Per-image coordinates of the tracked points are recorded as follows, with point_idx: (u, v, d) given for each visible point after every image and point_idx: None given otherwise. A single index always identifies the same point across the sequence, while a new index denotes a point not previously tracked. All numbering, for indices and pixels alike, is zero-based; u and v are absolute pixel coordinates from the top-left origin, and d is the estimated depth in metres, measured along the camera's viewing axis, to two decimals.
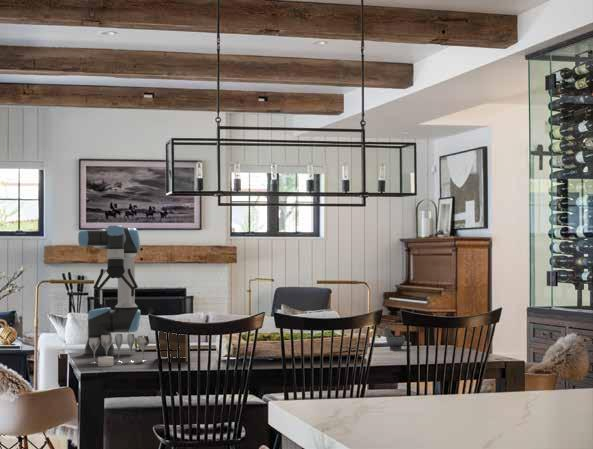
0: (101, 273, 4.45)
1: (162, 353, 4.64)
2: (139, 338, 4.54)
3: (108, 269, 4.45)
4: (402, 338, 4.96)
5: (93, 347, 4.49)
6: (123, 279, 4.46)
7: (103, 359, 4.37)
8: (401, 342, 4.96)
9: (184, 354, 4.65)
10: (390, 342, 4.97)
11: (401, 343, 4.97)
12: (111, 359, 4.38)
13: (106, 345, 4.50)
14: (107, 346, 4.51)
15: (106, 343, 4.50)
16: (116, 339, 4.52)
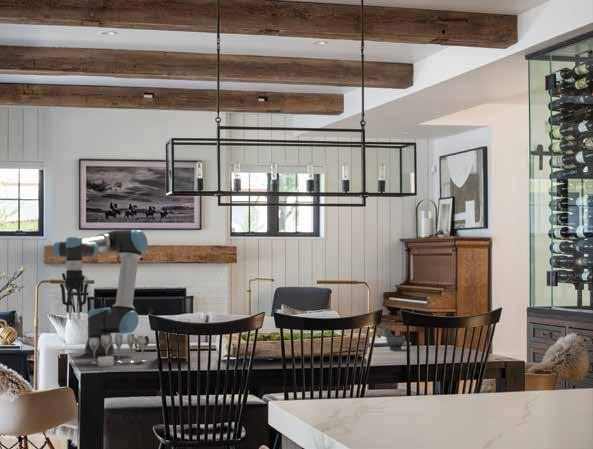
0: (62, 287, 4.51)
1: (162, 353, 4.64)
2: (139, 338, 4.54)
3: (66, 281, 4.51)
4: (402, 338, 4.96)
5: (93, 347, 4.49)
6: (77, 292, 4.51)
7: (103, 359, 4.37)
8: (401, 342, 4.96)
9: (184, 354, 4.65)
10: (390, 342, 4.97)
11: (401, 343, 4.97)
12: (111, 359, 4.38)
13: (106, 345, 4.50)
14: (107, 346, 4.51)
15: (106, 343, 4.50)
16: (116, 339, 4.52)
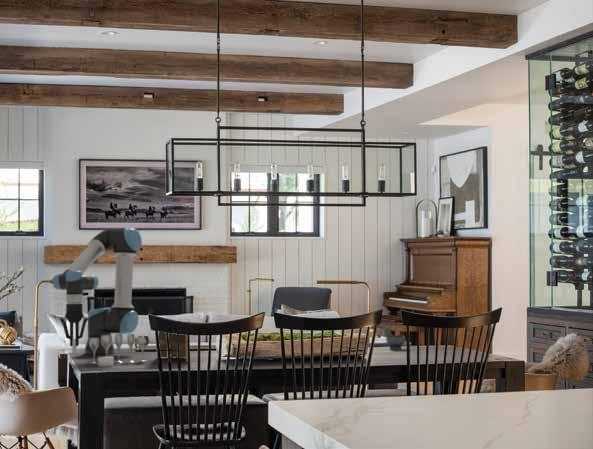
0: (63, 322, 4.50)
1: (162, 353, 4.64)
2: (139, 338, 4.54)
3: (66, 314, 4.51)
4: (402, 338, 4.96)
5: (93, 347, 4.49)
6: (75, 325, 4.51)
7: (103, 359, 4.37)
8: (401, 342, 4.96)
9: (184, 354, 4.65)
10: (390, 342, 4.97)
11: (401, 343, 4.97)
12: (111, 359, 4.38)
13: (106, 345, 4.50)
14: (107, 346, 4.51)
15: (106, 343, 4.50)
16: (116, 339, 4.52)
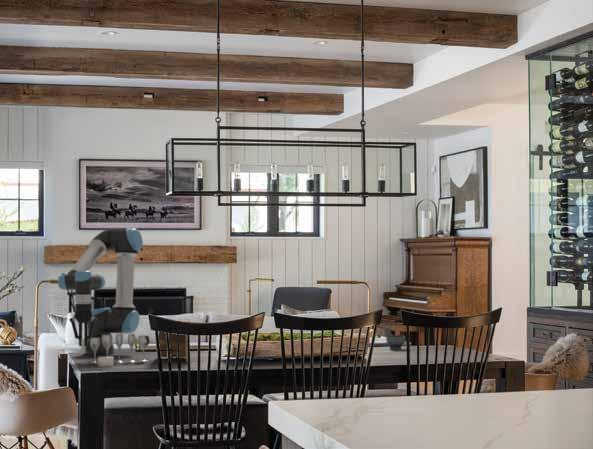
0: (72, 322, 4.51)
1: (162, 353, 4.64)
2: (140, 338, 4.54)
3: (75, 314, 4.51)
4: (402, 338, 4.96)
5: (94, 347, 4.49)
6: (84, 325, 4.51)
7: (103, 359, 4.37)
8: (401, 342, 4.96)
9: (184, 354, 4.65)
10: (390, 342, 4.97)
11: (401, 343, 4.97)
12: (111, 359, 4.38)
13: (107, 345, 4.50)
14: (108, 346, 4.51)
15: (107, 343, 4.50)
16: (117, 339, 4.52)
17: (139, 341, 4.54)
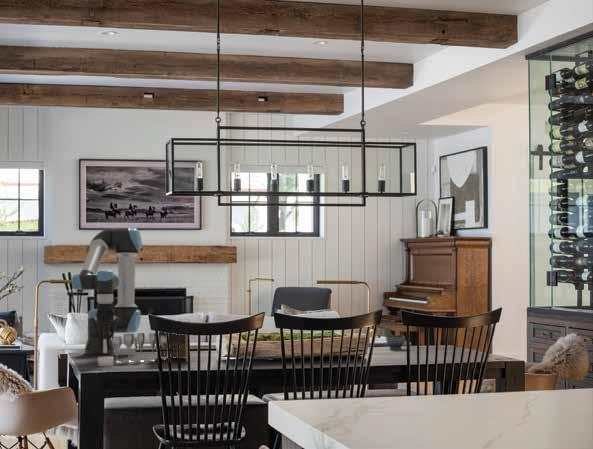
0: (94, 321, 4.52)
1: (162, 353, 4.64)
2: (161, 337, 4.57)
3: (97, 314, 4.52)
4: (402, 338, 4.96)
5: (116, 346, 4.50)
6: (106, 325, 4.52)
7: (103, 359, 4.37)
8: (401, 342, 4.96)
9: (184, 354, 4.65)
10: (390, 342, 4.97)
11: (401, 343, 4.97)
12: (111, 359, 4.38)
13: (129, 344, 4.52)
14: (130, 345, 4.52)
15: (129, 342, 4.51)
16: (139, 338, 4.54)
17: (161, 340, 4.56)
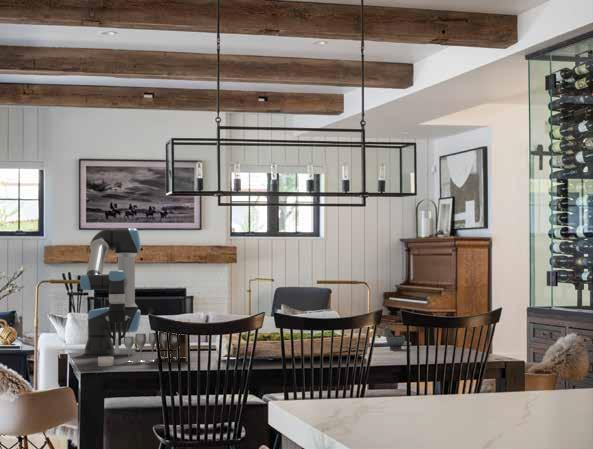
0: (106, 321, 4.52)
1: (162, 353, 4.64)
2: (173, 337, 4.58)
3: (109, 314, 4.53)
4: (402, 338, 4.96)
5: (128, 346, 4.51)
6: (118, 325, 4.53)
7: (103, 359, 4.37)
8: (401, 342, 4.96)
9: (184, 354, 4.65)
10: (390, 342, 4.97)
11: (401, 343, 4.97)
12: (111, 359, 4.38)
13: (141, 344, 4.53)
14: (142, 345, 4.53)
15: (141, 342, 4.52)
16: (150, 338, 4.55)
17: (172, 340, 4.58)
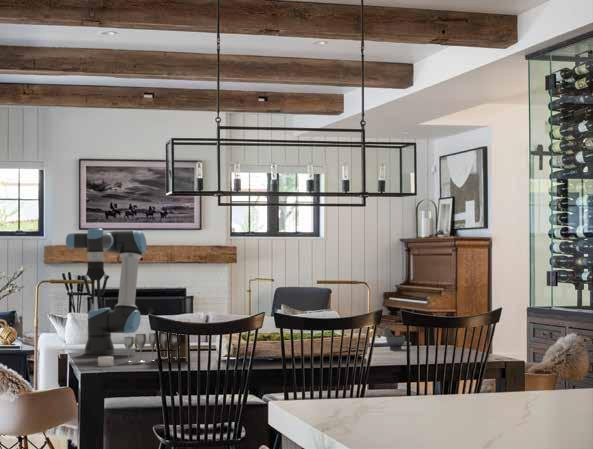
0: (84, 279, 4.53)
1: (162, 353, 4.64)
2: (173, 337, 4.58)
3: (87, 272, 4.53)
4: (402, 338, 4.96)
5: (128, 346, 4.51)
6: (97, 283, 4.53)
7: (103, 359, 4.37)
8: (401, 342, 4.96)
9: (184, 354, 4.65)
10: (390, 342, 4.97)
11: (401, 343, 4.97)
12: (111, 359, 4.38)
13: (141, 344, 4.53)
14: (142, 345, 4.53)
15: (141, 342, 4.52)
16: (150, 338, 4.55)
17: (172, 340, 4.58)
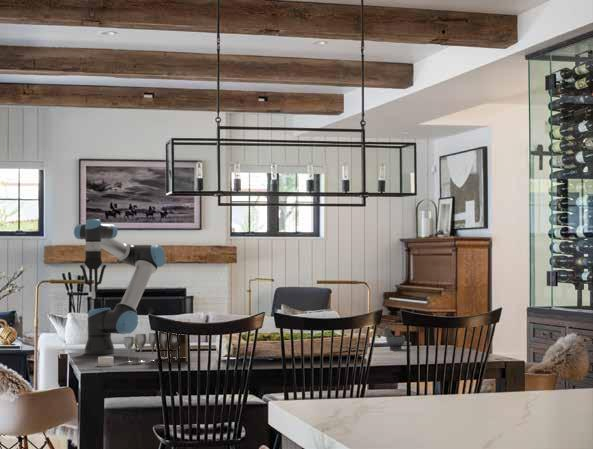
0: (82, 268, 4.68)
1: (162, 353, 4.64)
2: (173, 337, 4.58)
3: (85, 261, 4.68)
4: (402, 338, 4.96)
5: (128, 346, 4.51)
6: (94, 272, 4.68)
7: (103, 359, 4.37)
8: (401, 342, 4.96)
9: (184, 354, 4.65)
10: (390, 342, 4.97)
11: (401, 343, 4.97)
12: (111, 359, 4.38)
13: (141, 344, 4.53)
14: (142, 345, 4.53)
15: (141, 342, 4.52)
16: (150, 338, 4.55)
17: (172, 340, 4.58)
